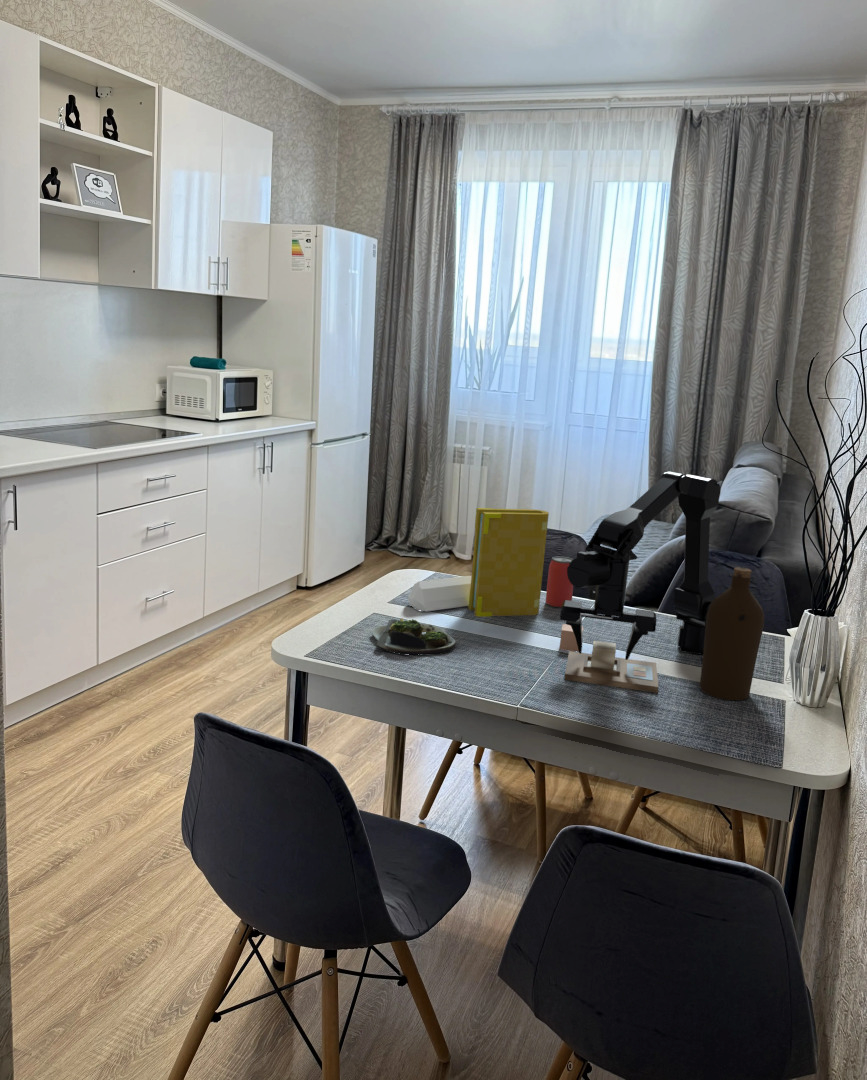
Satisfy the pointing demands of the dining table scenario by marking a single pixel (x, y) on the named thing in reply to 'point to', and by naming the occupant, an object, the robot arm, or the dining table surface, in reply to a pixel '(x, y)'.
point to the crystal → (440, 593)
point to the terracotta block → (568, 639)
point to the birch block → (603, 655)
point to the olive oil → (732, 640)
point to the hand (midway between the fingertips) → (603, 656)
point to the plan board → (613, 673)
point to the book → (508, 561)
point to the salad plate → (413, 638)
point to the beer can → (558, 582)
